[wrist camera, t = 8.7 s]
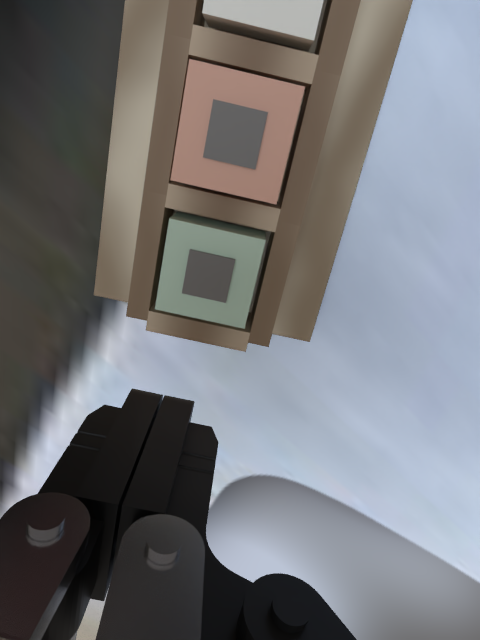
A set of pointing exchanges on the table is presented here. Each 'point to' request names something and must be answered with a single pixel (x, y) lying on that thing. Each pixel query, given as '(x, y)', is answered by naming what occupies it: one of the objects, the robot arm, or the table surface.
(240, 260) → the sage key
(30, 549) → the robot arm
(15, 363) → the table surface
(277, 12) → the cream key
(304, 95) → the keypad board
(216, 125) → the terracotta key
